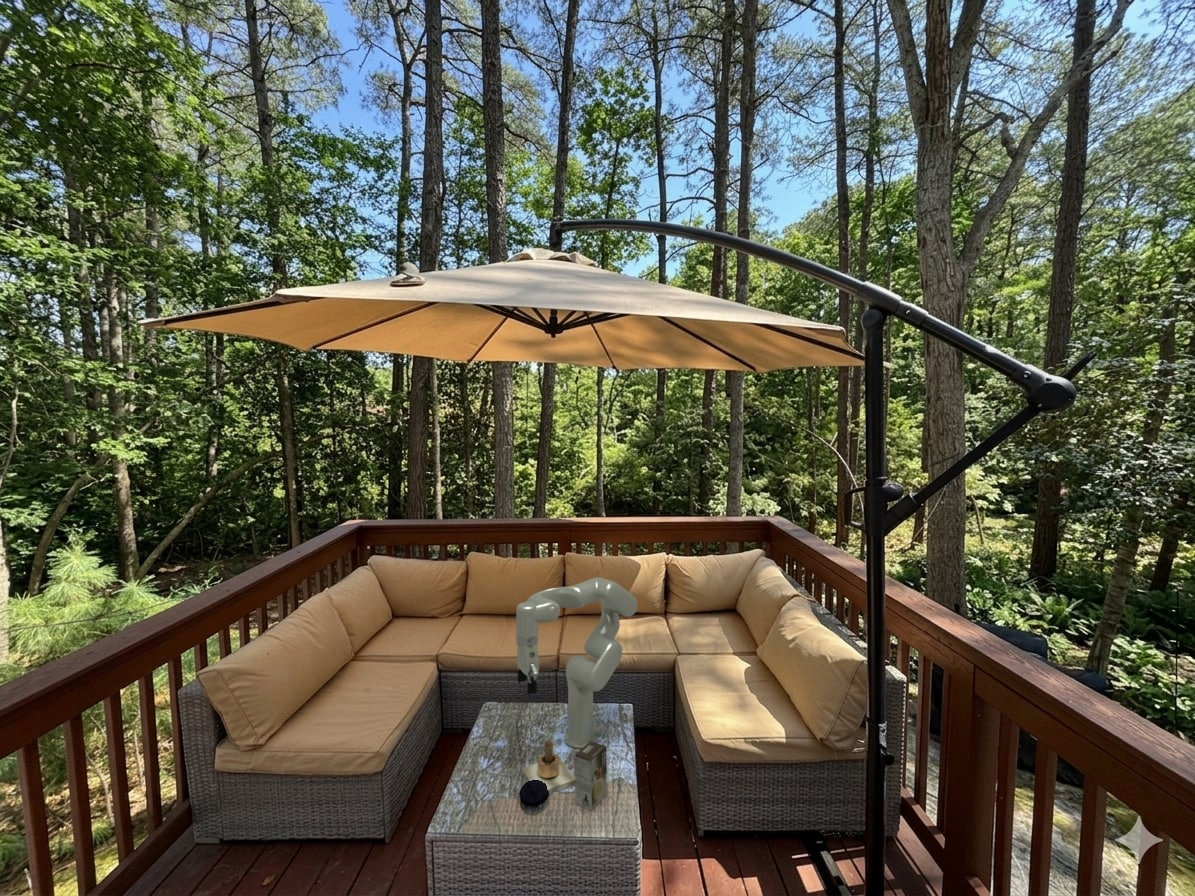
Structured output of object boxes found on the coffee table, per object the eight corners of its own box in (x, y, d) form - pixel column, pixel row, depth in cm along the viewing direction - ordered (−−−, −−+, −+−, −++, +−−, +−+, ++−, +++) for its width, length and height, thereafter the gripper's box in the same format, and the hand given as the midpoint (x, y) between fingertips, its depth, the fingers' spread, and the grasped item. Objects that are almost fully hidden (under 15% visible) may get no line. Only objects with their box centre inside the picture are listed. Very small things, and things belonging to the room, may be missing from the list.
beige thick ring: (554, 762, 181) (554, 750, 180) (562, 773, 174) (562, 761, 174) (535, 768, 177) (535, 756, 177) (542, 780, 171) (542, 768, 171)
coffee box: (590, 787, 172) (590, 739, 172) (607, 794, 169) (607, 745, 168) (574, 803, 164) (575, 753, 164) (591, 811, 161) (592, 760, 161)
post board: (559, 762, 185) (559, 725, 185) (576, 785, 173) (576, 746, 173) (521, 774, 179) (521, 735, 178) (536, 799, 166) (537, 758, 166)
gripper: (546, 645, 176) (546, 695, 176) (528, 628, 191) (528, 674, 192) (525, 649, 172) (525, 700, 173) (508, 632, 188) (508, 679, 188)
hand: (527, 687), depth 182 cm, fingers open, 9 cm apart
